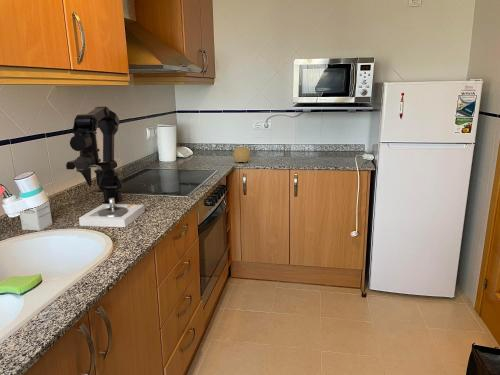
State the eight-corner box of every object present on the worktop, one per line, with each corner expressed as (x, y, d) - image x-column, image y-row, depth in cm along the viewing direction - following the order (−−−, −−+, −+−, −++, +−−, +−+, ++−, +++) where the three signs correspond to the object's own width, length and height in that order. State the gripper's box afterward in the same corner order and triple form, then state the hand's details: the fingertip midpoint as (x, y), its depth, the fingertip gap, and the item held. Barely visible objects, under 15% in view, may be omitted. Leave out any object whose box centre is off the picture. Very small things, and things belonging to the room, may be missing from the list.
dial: (129, 217, 146) (127, 203, 144) (98, 221, 142) (97, 207, 140) (127, 209, 156) (125, 196, 154) (98, 213, 152) (96, 199, 150)
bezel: (79, 225, 142) (78, 217, 141) (104, 210, 159) (103, 203, 158) (125, 227, 139) (124, 218, 138) (144, 211, 157) (144, 204, 156)
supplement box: (21, 230, 138) (15, 197, 135) (36, 223, 145) (30, 191, 142) (39, 231, 137) (33, 197, 134) (53, 224, 144) (48, 192, 141)
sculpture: (250, 160, 264) (250, 145, 262) (250, 163, 253) (249, 147, 250) (234, 160, 265) (233, 145, 262) (233, 164, 253) (232, 148, 250)
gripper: (54, 150, 141) (60, 190, 145) (101, 150, 138) (106, 191, 142) (72, 146, 152) (77, 183, 156) (115, 146, 149) (120, 184, 153)
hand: (94, 186), depth 151 cm, fingers open, 3 cm apart
